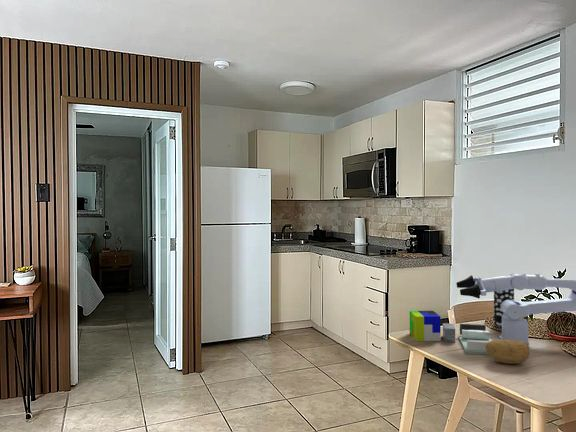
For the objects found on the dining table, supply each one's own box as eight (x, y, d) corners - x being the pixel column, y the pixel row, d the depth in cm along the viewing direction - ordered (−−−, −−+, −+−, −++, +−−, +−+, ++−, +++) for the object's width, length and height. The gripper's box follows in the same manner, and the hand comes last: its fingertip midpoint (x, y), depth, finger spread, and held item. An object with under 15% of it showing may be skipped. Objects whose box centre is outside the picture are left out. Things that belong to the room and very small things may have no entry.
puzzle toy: (440, 340, 183) (440, 316, 183) (415, 340, 183) (415, 316, 183) (433, 333, 193) (433, 310, 193) (409, 333, 193) (409, 310, 193)
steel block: (452, 336, 188) (452, 323, 188) (455, 342, 181) (455, 329, 181) (442, 336, 189) (442, 323, 189) (444, 341, 182) (444, 328, 181)
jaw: (485, 335, 187) (485, 324, 187) (489, 340, 179) (489, 330, 179) (459, 333, 189) (459, 323, 189) (462, 339, 181) (462, 328, 181)
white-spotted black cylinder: (496, 328, 200) (496, 283, 199) (491, 323, 208) (491, 280, 207) (516, 328, 198) (516, 283, 198) (510, 323, 207) (510, 280, 206)
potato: (482, 357, 163) (482, 335, 163) (525, 359, 160) (525, 337, 160) (488, 366, 154) (488, 343, 154) (533, 369, 151) (533, 346, 150)
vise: (490, 340, 182) (490, 331, 182) (500, 355, 164) (500, 344, 164) (458, 339, 185) (458, 329, 184) (465, 353, 167) (465, 342, 167)
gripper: (487, 268, 189) (454, 273, 192) (497, 282, 175) (460, 286, 178) (489, 284, 191) (456, 288, 194) (498, 298, 177) (462, 303, 180)
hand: (458, 288), depth 186 cm, fingers open, 7 cm apart
